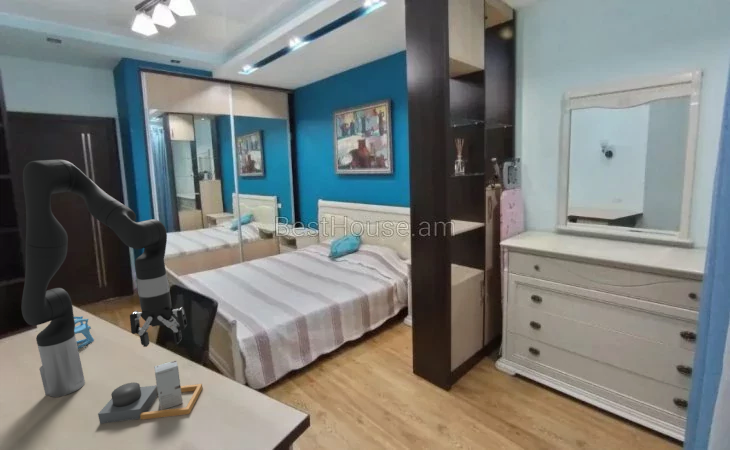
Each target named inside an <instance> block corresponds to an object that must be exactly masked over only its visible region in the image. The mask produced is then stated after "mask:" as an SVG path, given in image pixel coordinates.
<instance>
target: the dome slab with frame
mask: <svg viewBox="0 0 730 450" xmlns="http://www.w3.org/2000/svg"><path fill="white" fill-rule="evenodd" d="M180 386H181V393H187V392H193V394H192V395H191V397H190V399H189V402H188V403H187V405H186V406H185V407H178V408H167V409H164V410H160V409H159V410H152V411H149V409H150V407H151V406H152V404H153V403H154V402H155V400H156V399H157V398H158V391H157V384H156V385H155V384H154V385H147V386H140V383H138V382H128V383H125V384H124V383H123V384H122V385H119V386H117V387H116V388H114V390H113V391H112V392H111V395H110V396H111V398H110V399H109V400H108V402H107V403H106V404H105V406H103V407H102V409H101V410H100V411H99V412H98V413H97V415H98V420H99V421H98V422H99V424H107V423H114V422H115V423H116V422H124V421H125V422H126V421H131V420H132V421H133V420H141V421H142V420H149V419H150V420H151V419H157V418H158V419H159V418H167V417H174V416H176V417H177V416H182V415H189V414H190V413H191V411H192V410H193V408H194V406H195V404H196V401H197V400H198V398H199V396H200V394H201V392H202V390H203V383H197V384H188V385H187V384H186V385H180Z"/></svg>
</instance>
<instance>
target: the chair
mask: <svg viewBox="0 0 730 450" xmlns="http://www.w3.org/2000/svg"><path fill="white" fill-rule="evenodd" d="M74 321H75V329H74V332H75V335H76V334H82V335H83V336H84V337H85V338H83V339H80V340H76V342H77V346H78V350H79V349H81V348H83V347H85V346H86V345H88V344H90V343H93V342H95V339H94V336H92V334H91V333H90V329H92V328H91V326H89V325H88V324H89V318H84V315H83V316H74ZM84 322H85V323H84ZM79 323H80V324H79ZM76 324H79V325H76ZM78 344H79V345H78Z"/></svg>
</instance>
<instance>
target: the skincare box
mask: <svg viewBox="0 0 730 450" xmlns="http://www.w3.org/2000/svg"><path fill="white" fill-rule="evenodd" d="M153 367H154V375H155V381H156V382H155V383H156V385H157V391H158V396H157V398H158V404H159V410H168V409H171V408H172V407H176V406H178V405H181V404H182V403H183V396H182V392H181V386H182V385H181V379H180V371H179V365H178V361H177V360H173V361H169V362H165V363H161V364H159V365H154V366H153Z"/></svg>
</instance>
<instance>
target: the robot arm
mask: <svg viewBox="0 0 730 450" xmlns="http://www.w3.org/2000/svg"><path fill="white" fill-rule="evenodd" d="M22 184H23V185H22V187H23V193H24V201H25V202H24V203H25V210H26V211H25V213H26V214H25V216H26V217H25V219H26V229H25V230H26V233H25V234H26V236H25V277H24V285H23V291H22V298H21V314H22V317H23V320H24V321H25V322H26V323H27V324H28V325H29V326H39V325H43V324H46V323H48V324H47V326H46V327H45V328H43V329H42V330H41V331H40V332H39V333H38V334H37V336H36V337H35V338H36V345H37V348H38V353H39V357H40V361H41V362H40V363H41V366H40V367H39V374H40V376H41V377H40V378H41V382H42V385H43V390H44V393H45V394H44V395H45V396H50V397H53V398H56V397H62V396H67V395H69V394H72V393H74V392H76V391H78V390H80V389H81V388H83V386H84V385H85V383H86V380H85V375H84V371H83V367H82V361H81V356H80V352H79V349H78V346H79V345H78V344H77V342H76V341H77V338H76V334H75V332H74V329H75V327H76V324H75V321H74V320H75V319H74V317H75V315H74V308H73V302H72V298H71V296H70V294H69V293H68V291H66V289H64V288H62V287H55V288H51V289H48V290H47V288H48V286H49V283H50V281H51V280H52V278H53V277H54V276H55V275H56V273H57V272H58V271H59V269H60V268H61V266H62V265H63V264H64V262H65V260H66V257H67V255H68V245H69V244H68V241H69V239H68V238H69V237H68V233H67V231H66V229H65V228H64V226H63V225H62V224H61V223H60V222H59V221H58V219H57V218H56V217H55V215H54V213H53V212H52V206H51V205H52V203H51V198H52V195H53V194H60V193H66V192H70V193H73V194H75V195H77V196H79V197H81V198H82V199H83V200H84V203H85V206H86V208H87V211H88V212H89V214H90V215H91V216H92V217H93V218H94V219H96V220H97V221H99V222H101V224H103V225H105V226H107V228H110V229H111V230H112V231H113V232H114V234H115V235H116V236H117V237H118V238H119V239H120V240H121V242H122V243H123V244H124V245H125V246H127V247H129V248H131V249H133V250H135V249H136V250H142V249H143V252H142V254H141V255H139V256H138V257H137V258H136V259H135V260H134V266H135V268H134V269H135V272H136V280H137V292H138V299H139V305H140V310H141V311H138V310H134V311H133V312H132V313H131V314H129V321H130V332H131V334H132V335H134V334H136V335H139V338H140V344H141V345H142V346H143V348H146V347H148V346H149V345H150V338H149V337H150V336H149V332H148V329H149V327H150V326H151V327H153V328H154V327H157V326H159V327H164V326H166V327H167V328H168V329H171V330H172V331H173V339H174V344H175V345H179V343H180V342H181V341H182V339H183V336H182V335H183V334H182V331H183V330H185V328H186V327H187V326H188V320H187V315H186V311H185V308H184V307H183V306H181V307H179V308H173V306H172V300H171V299H172V298H171V291H170V290H171V289H170V285H169V280H168V275H167V271H166V265H165V264H166V263H165V255H166V249H167V240H168V235H167V234H168V233H167V230H166V227H165V225H164V224H163V223H162V222H161V221H160V220H158V219H147V220H142V221H137V222H136V218H137V216H136V213H135V212H134V210H133V209H131V208H130V207H128V206H127V205H125V204H123V203H121V202H120V201H119V200H117V199H115V198H114V197H113V196H111V195H109V194H108V193H106V191H104V190H103V189H102V188H100V187H99V186H98V185H97V184H96V183H95V182H94V180H92V179H91V178H90V177H89V176H87V175H86V174H85V173H84V172H83V171H82V170H81V169H80V168H78V167H77V166H76V165H74V163H72V162H70V161H68V160H65V159H46V160H45V159H44V160H41V159H40V160H32V161H29V162H28V163H26V164H25V166H24V167H23V172H22ZM173 315H175V317H176V318H177V319H176V318H175V317H174V316H173ZM141 318H142V319H143V320H144V321H145V322H144V323H143V324H142V326H141V324H140V323H141V322H140V319H141Z"/></svg>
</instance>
